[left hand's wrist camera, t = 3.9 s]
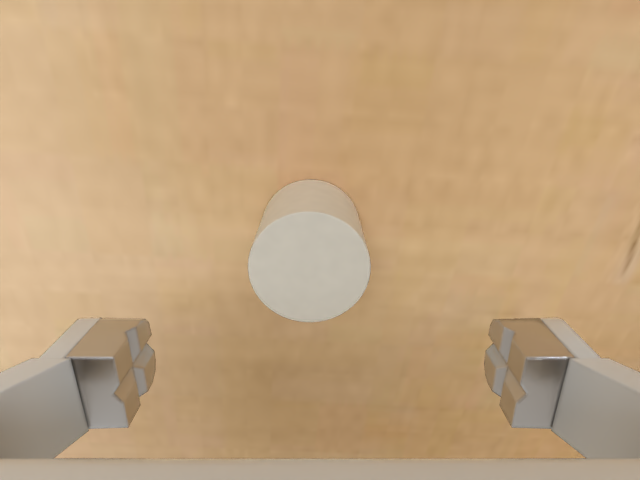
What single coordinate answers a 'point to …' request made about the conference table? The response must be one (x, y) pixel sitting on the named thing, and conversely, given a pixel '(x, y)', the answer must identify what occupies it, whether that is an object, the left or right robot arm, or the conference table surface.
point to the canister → (309, 253)
